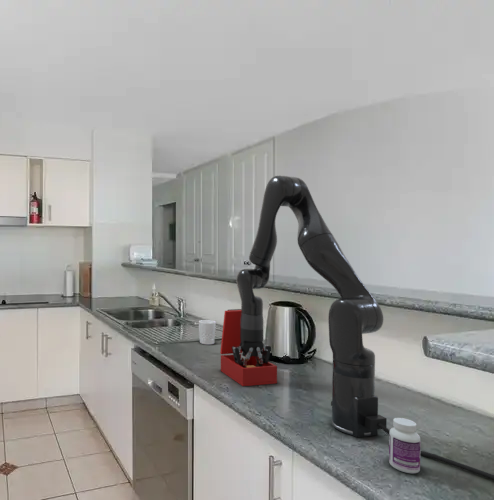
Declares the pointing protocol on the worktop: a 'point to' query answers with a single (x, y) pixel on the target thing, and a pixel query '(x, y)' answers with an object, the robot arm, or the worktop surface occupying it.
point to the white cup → (207, 331)
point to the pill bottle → (404, 446)
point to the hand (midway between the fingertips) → (251, 375)
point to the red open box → (249, 371)
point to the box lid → (231, 331)
